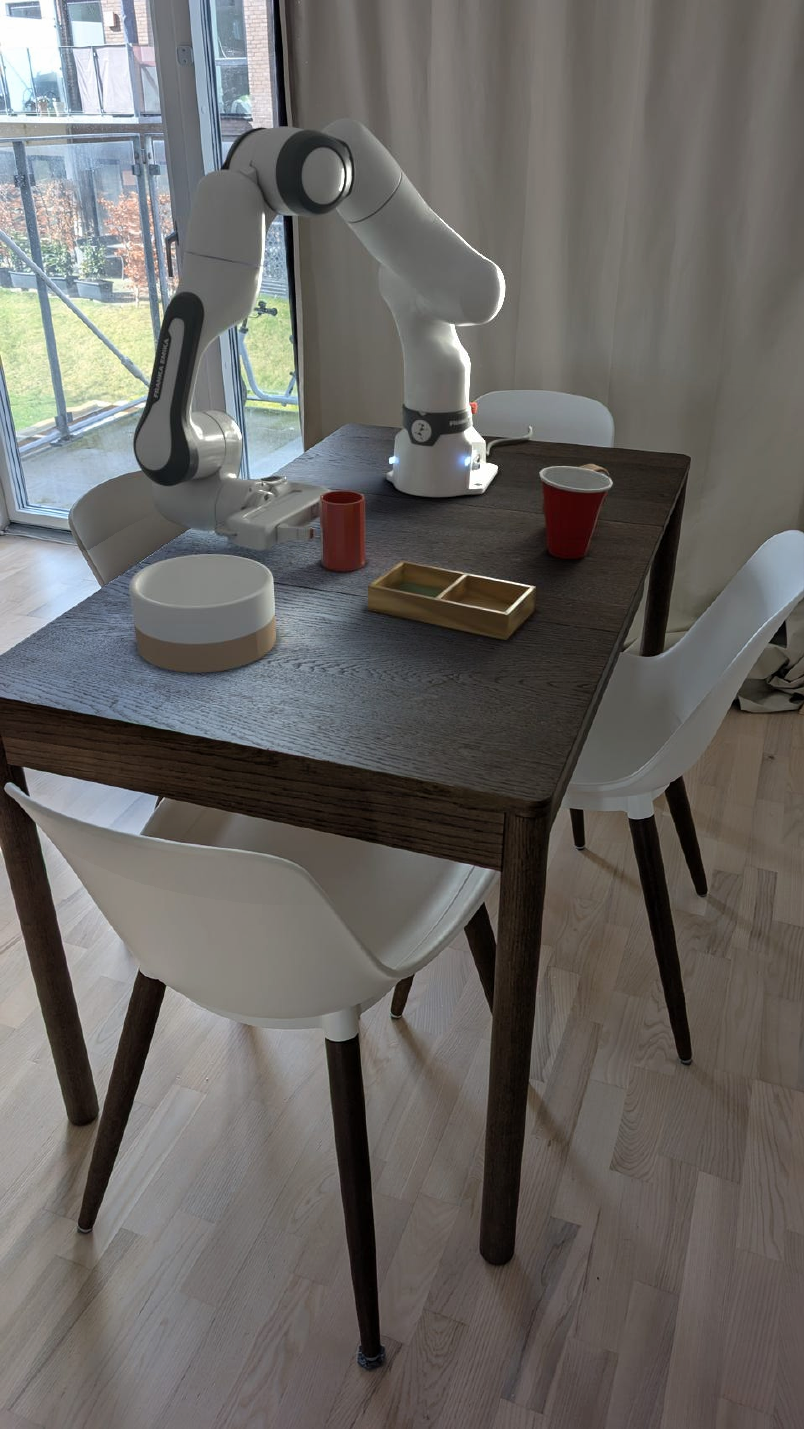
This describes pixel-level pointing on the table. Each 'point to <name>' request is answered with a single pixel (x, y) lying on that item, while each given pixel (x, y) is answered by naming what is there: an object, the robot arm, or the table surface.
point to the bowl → (203, 612)
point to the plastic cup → (572, 508)
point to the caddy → (452, 599)
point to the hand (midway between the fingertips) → (327, 524)
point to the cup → (342, 530)
